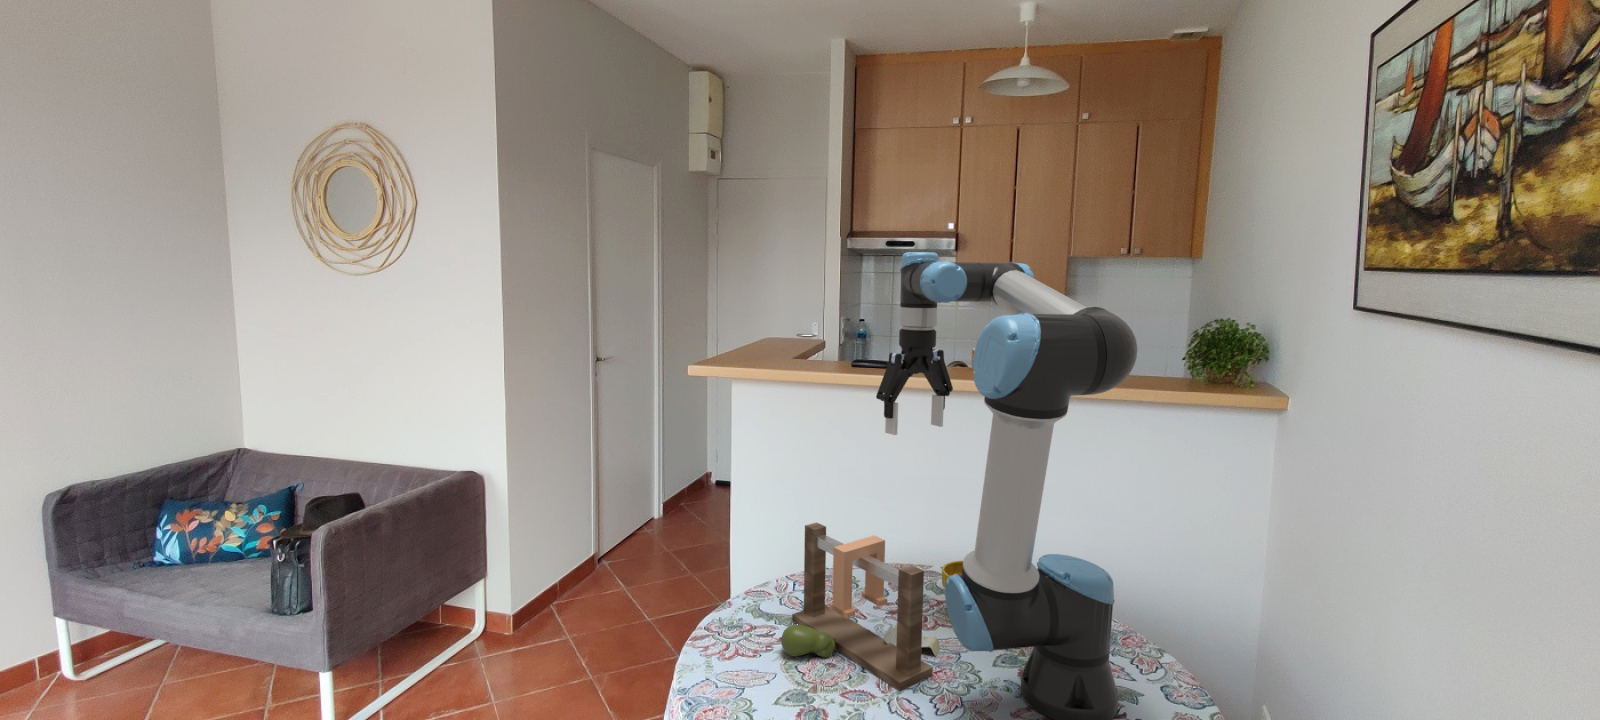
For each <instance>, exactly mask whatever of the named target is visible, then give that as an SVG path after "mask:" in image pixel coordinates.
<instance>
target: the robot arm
mask: <svg viewBox="0 0 1600 720" xmlns="http://www.w3.org/2000/svg"><path fill="white" fill-rule="evenodd" d="M939 258H940V257H939V255H938V254H937V253H936V252H934V251H933V252H931V251H930V252H926V251H921V252H920V251H911V252H909V251H908V252H904V253H903V255H902V256H901V265H900V269H899V271H900V296H899V297H900V299H899V300H900V301H899V302H900V304H899V305H900V306H899V307H900V308H899V326H901V327H902V328H900V329H899V330H898V333H899V334H898V345H899V346H900V347H901V352H900V353H897V352H896V353H895V352H890V353H889V355H888V363H887V367H886V369H885V372H884V374H883V376H882V380H881V382H880V385H879V387H878V390H877V393H876V396H875V397H876V399H877V400H880V401H881V402H883V405H884V406H883V407H884V408H883V418H885V426H884V427H885V431H884V432H885V433H886V434H889V435H893V436H897V435H898V426H899V425H898V423H899V419H898V418H899V403H898V402H896V401H897V399H898V397H899V396H900V393H901V392H902V391H903V389H904V387H905V385H906V384H907V382H908V380H909V378H911V377H913V375H918V374H923V375H924V377H925V378H926V381H927V382H928V384H929V385H930V387H931V389H932V390H933V392H934V393H935V394H932V395H931V414H930V425H932V426H935V427H940V428H942V427H943V426H944V410H945V408H946V397H949V396H950V394H951V393H952V392H953V390H954V389H953V388H954V387H953V385H952V381H951V377H950V374H949V371H948V368H947V365H946V363H945V352H944V350H943V349H936V348H935V347H936V345H937V330H936V329H935V328H936V327H938V326H937V325H938V304H941V303H945V304H946V303H949V304H950V303H953V302H954V303H955V302H960V303H961V302H962V303H963V302H967V303H969V302H972V303H973V302H979V303H981V302H982V303H983V302H985V303H989V302H991V303H994V304H996V305H997V306H999V307H1000V308H1001V309H1003V310H1005V311H1006V312H1007V313H1009V314H1005V315H1000V316H997V317H995V318H993V319H991V321H989V322H988V324H986V325H985V326H984V328H983V329H982V331H981V332H980V334H979V337H978V339H977V340H976V343H975V347H974V351H973V357H972V371H974V373H973V376H972V377H973V382H974V384H975V387H976V390H977V391H978V393H979V394H981V395H982V396H983V397H984V405H985V406H986V407H987V408H988V409H989V411H990V412H991V413H992V420H991V429H990V433H989V434H990V435H989V442H988V443H989V444H988V451H987V457H986V464H985V470H984V471H985V472H984V478H983V485H982V486H983V487H982V493H981V501H980V502H981V503H980V509H979V514H978V515H979V516H978V522H977V523H978V524H977V531H976V538H975V546H974V550H972V551H970V552H968V553H967V554H966V556H964V558H963V560H962V561H963V567H962V574H961V575H958V574H954V575H952V576H950V577H949V578H948V579H947V581H946V584H945V588H944V598H945V605H946V611H947V614H948V618H949V622H950V625H951V628H952V630H953V632H954V635H955V636H956V638H957V640H958V642H959V643H960V644H961V645H962V647H964V649H966V650H968V651H971V652H989V653H993V652H994V651H1000V650H1010V649H1021V648H1022V649H1023V648H1032V650H1031V652H1030V654H1029V656H1028V659H1027V661H1026V663H1025V666H1024V668H1023V670H1022V673H1021V675H1020V676H1021V677H1020V689H1019V690H1020V695H1021V697H1022V698H1023V700H1024V702H1026V704H1027V705H1028V706H1029V707H1031V708H1032V709H1033V710H1035V711H1036V712H1037V713H1039V714H1041V715H1043V716H1044V717H1047V718H1049V719H1052V720H1112V719H1114V717H1116V715H1117V714H1118V709H1119V693H1118V692H1119V691H1118V689H1117V686H1116V682H1115V678H1114V675H1113V671H1112V667H1111V662H1110V652H1111V651H1110V649H1111V637H1112V634H1111V633H1112V624H1113V622H1112V621H1113V610H1114V607H1113V606H1114V604H1115V592H1114V590H1115V589H1114V587H1115V586H1114V581H1113V578H1112V576H1111V575H1110V574H1109V572H1107V571H1106V570H1105V569H1104V568H1102V566H1100V565H1097V564H1095V563H1093V562H1091V561H1089V560H1086V559H1083V558H1080V557H1075V556H1071V555H1067V554H1059V553H1057V554H1056V553H1047V554H1044V555H1042V556H1040V557H1039V558H1038V561H1037V562H1036V566H1035V565H1034V564H1033V562H1032V561H1033V556H1034V551H1035V550H1034V549H1035V543H1036V537H1037V531H1038V525H1039V519H1040V518H1039V517H1040V512H1041V507H1042V506H1041V505H1042V501H1043V494H1044V489H1045V488H1044V487H1045V486H1044V485H1045V481H1046V475H1047V471H1048V470H1047V468H1048V463H1049V457H1050V451H1051V445H1052V439H1053V433H1054V427H1055V423H1057V422H1059V421H1060V420H1061V419H1063V418H1065V417H1066V416H1067V413H1068V411H1069V405H1070V399H1071V397H1072V396H1074V397H1075V396H1093V395H1098V394H1103V393H1106V392H1109V391H1110V390H1113V389H1114V388H1116V387H1118V386H1119V385H1120V384H1121V383H1123V382H1124V381H1126V379H1127V378H1128V376H1129V375H1130V374H1131V372H1132V371H1133V368H1134V367H1135V364H1136V361H1137V359H1138V358H1137V357H1138V343H1137V339H1136V335H1135V334H1134V332H1133V330H1132V329H1131V327H1130V326H1129V325H1128V323H1127V322H1126V321H1124V320H1123V319H1122V318H1121V317H1120V316H1117V315H1116V314H1114V313H1113V312H1111V311H1109V310H1106V309H1105V308H1103V307H1100V306H1093V305H1089V306H1085V305H1083V304H1081V303H1080V302H1078V301H1076V300H1074V299H1072V298H1071V297H1069V296H1066V295H1065V294H1063V293H1061V292H1060V291H1057V290H1056V289H1055V288H1052V287H1050V286H1048V285H1047V284H1045V283H1043V282H1041V281H1039V280H1037V279H1035V275H1034V272H1033V271H1032V268H1031V267H1030V266H1029V265H1028V264H1026V263H1019V262H1013V261H1008V262H1007V261H1006V262H973V261H971V262H970V261H969V262H967V261H966V262H965V261H948V260H947V261H944V260H943V261H941V260H940V259H939Z"/></svg>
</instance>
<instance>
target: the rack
mask: <svg viewBox="0 0 1600 720" xmlns="http://www.w3.org/2000/svg"><path fill="white" fill-rule="evenodd" d="M821 535H826V536H827V526H826V525H824V524H821V523H819V522H812V523H809V524H805V525H804V552H803V553H804V555H803V557H804V559H803V561H804V563H803V564H804V570H803V573H804V574H803V579H804V580H803V610H800V611H798V612H795V613H792V617H791V621H793V622H792V623H794V622H795V623H796V624H795V623H794V624H795V625H797V624H798V625H804V626H808V627H811V628H813V629H815V630H817V631H823V632H826V633H828V634H830V636H832V637H834V638H835V639H836V641H835V649H836V650H835V651H837V652H838V653H840V654H842V655H843V656H845V657H846V658H848V659H849V660H851V661H853V662H854V663H856V664H857V665H859V666H860V667H862V668H863V669H865V670H866V671H868V672H870V673H871V674H873V676H876V677H877V678H879V679H880V680H882V681H884V682H885V683H886V684H887V685H890V686H891V687H892V688H894V689H896V690H897V691H900V692H901V691H902V690H905V689H907V688H909V687H911V686H913V685H915V684H918V683H919V682H921V681H924V680H925V679H928V678H930V677H932V676H933V669H934V667H933V666H931V665H930V664H928V663H926V662H924V661H923V660H922V648H921V644H922V635H923V611H924V584H925V583H924V580H925V579H924V578H925V570H923V569H921V568H919V567H916V566H915V565H913V564H912V565H911V564H910V565H907V566H903V567H900V568H898V569H899V575H898V587H897V608H896V609H897V612H896V613H897V615H896V616H897V617H896V618H897V619H896V624H897V643H896V646H895V645H894V644H892V643H890V642H889V644H887V643H886V642H885V641H884V638H883V637H881V636H880V635H878V634H876V633H875V632H873V631H871V630H869V629H868V628H867V627H864V626H862V625H861V624H859V623H857V622H856V621H854V620H852V619H851V618H845V617H843V616H841V615H840V614H838V613H836V612H835V611H833V610H831V609H830V608H829V605H827V604H826V570H827V569H826V566H827V565H826V563H827V562H826V561H827V557H826V556H827V552H826V551H824V550H822V549H820V548H818V547H816V537H817V536H821Z"/></svg>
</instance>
